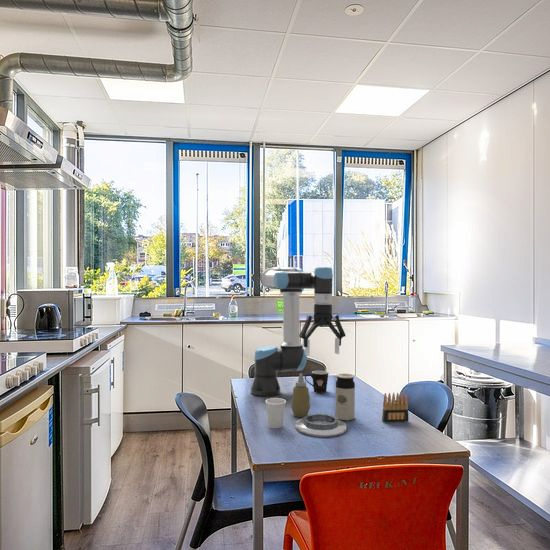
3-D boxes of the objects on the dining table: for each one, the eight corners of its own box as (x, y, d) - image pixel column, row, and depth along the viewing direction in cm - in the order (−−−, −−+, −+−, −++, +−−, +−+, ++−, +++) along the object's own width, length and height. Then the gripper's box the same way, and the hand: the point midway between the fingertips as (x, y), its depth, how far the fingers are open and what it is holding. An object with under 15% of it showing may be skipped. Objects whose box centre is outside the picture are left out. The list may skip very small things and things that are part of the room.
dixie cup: (262, 423, 176) (262, 398, 177) (281, 421, 179) (281, 397, 179) (269, 430, 169) (269, 404, 169) (289, 428, 172) (289, 402, 172)
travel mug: (343, 413, 191) (343, 372, 191) (358, 418, 185) (358, 375, 185) (331, 417, 185) (332, 375, 185) (347, 422, 179) (347, 378, 179)
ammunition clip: (406, 420, 182) (407, 391, 182) (408, 422, 180) (408, 392, 181) (382, 421, 181) (382, 392, 181) (383, 422, 179) (383, 393, 179)
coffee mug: (331, 391, 229) (331, 371, 229) (323, 394, 222) (324, 374, 222) (311, 387, 236) (311, 369, 236) (303, 391, 228) (303, 372, 228)
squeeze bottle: (297, 419, 182) (297, 376, 182) (287, 414, 189) (288, 372, 189) (313, 416, 186) (314, 374, 186) (303, 411, 193) (304, 370, 193)
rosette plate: (288, 422, 178) (288, 413, 178) (333, 418, 184) (333, 409, 184) (306, 439, 159) (306, 429, 159) (355, 434, 165) (355, 425, 165)
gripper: (298, 304, 176) (298, 357, 176) (353, 304, 184) (353, 354, 184) (292, 303, 183) (291, 354, 183) (345, 302, 191) (344, 351, 191)
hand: (322, 354), depth 184 cm, fingers open, 13 cm apart
